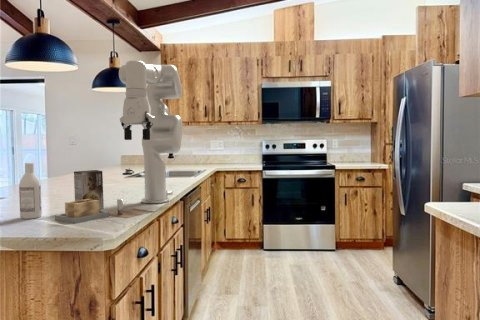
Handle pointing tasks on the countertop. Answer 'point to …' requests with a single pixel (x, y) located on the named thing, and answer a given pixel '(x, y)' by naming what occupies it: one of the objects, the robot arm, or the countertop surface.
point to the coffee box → (89, 186)
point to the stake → (120, 206)
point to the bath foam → (30, 194)
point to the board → (131, 213)
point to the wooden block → (81, 208)
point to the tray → (82, 219)
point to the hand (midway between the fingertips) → (137, 139)
